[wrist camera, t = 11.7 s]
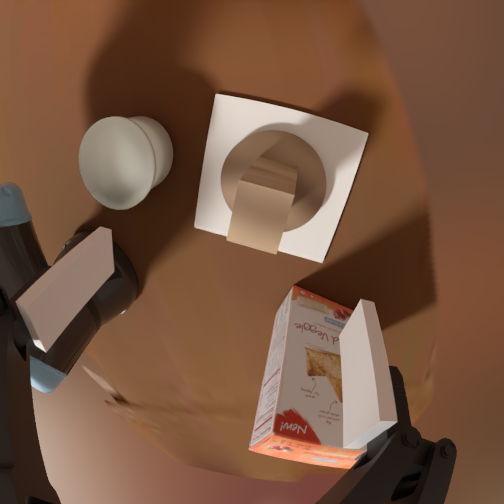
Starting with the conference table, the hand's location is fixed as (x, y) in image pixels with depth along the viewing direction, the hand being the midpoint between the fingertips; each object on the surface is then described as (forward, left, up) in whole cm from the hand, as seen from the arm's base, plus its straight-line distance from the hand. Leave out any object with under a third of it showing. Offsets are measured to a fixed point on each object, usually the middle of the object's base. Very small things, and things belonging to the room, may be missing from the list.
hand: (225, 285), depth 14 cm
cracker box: (-16, -12, -19) cm, 28 cm away
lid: (0, 0, -18) cm, 18 cm away
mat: (0, 0, -19) cm, 19 cm away
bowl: (0, +16, -19) cm, 25 cm away
